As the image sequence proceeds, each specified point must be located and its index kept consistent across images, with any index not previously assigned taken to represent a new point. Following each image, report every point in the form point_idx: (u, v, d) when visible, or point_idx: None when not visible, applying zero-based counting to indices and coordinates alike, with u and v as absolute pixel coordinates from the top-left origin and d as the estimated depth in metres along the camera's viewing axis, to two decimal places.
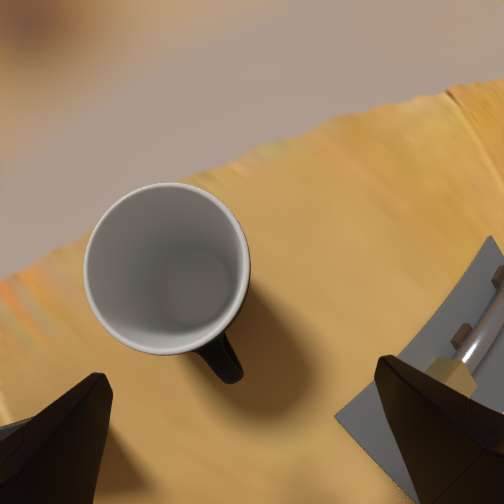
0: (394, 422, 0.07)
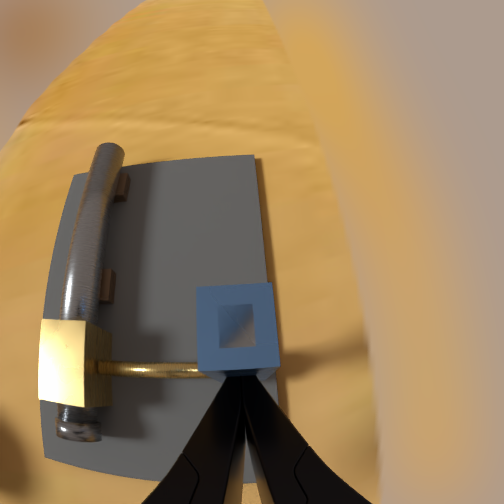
0: (249, 448, 0.07)
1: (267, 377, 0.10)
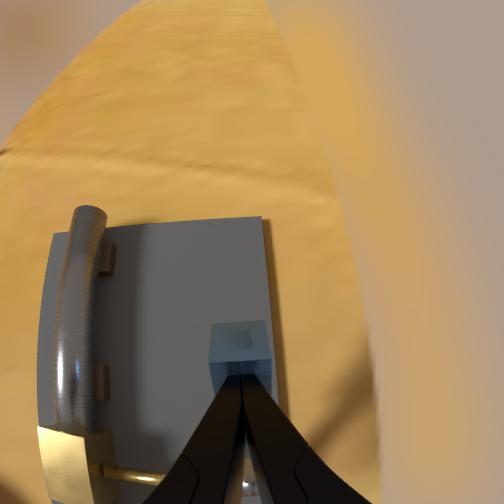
0: (249, 448, 0.07)
1: None
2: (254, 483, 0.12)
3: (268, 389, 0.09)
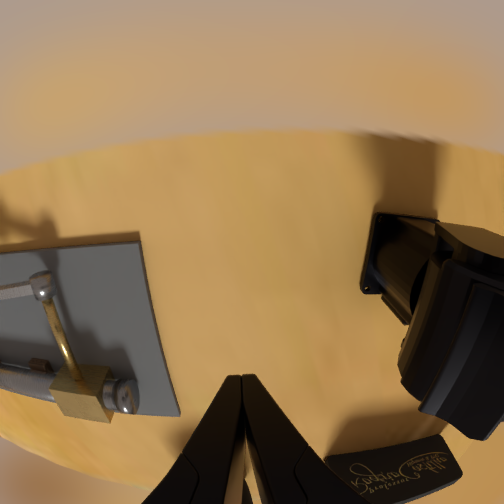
0: (249, 448, 0.07)
1: None
2: (31, 288, 0.17)
3: None
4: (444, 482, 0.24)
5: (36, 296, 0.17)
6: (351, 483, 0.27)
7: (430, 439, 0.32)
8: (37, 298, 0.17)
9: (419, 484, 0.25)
